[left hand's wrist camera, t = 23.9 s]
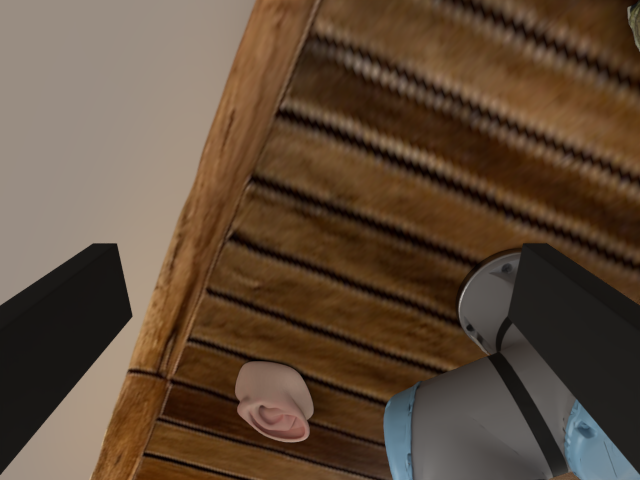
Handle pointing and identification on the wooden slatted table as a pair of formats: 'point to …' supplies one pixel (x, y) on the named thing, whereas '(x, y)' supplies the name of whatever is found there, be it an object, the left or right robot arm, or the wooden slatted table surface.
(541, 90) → the wooden slatted table surface
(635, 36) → the fossil
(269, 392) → the anatomical model
